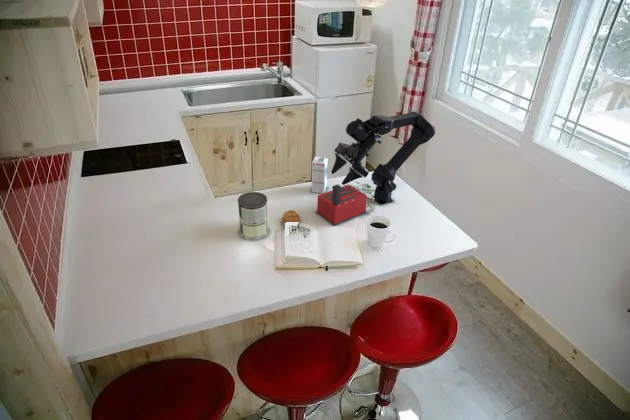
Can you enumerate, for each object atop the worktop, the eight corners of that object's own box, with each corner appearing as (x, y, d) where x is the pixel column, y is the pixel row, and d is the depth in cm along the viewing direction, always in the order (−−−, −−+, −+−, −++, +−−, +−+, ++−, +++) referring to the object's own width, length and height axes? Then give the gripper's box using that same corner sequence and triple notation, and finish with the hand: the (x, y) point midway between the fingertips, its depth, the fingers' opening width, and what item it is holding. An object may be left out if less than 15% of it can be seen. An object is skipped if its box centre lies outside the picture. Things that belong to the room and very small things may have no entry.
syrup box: (324, 193, 187) (325, 163, 180) (310, 192, 188) (311, 161, 180) (326, 187, 192) (328, 157, 184) (313, 185, 193) (314, 155, 185)
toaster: (347, 200, 183) (349, 183, 179) (366, 213, 176) (368, 195, 171) (316, 212, 175) (317, 195, 170) (334, 225, 167) (335, 207, 163)
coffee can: (234, 231, 162) (231, 198, 154) (256, 220, 168) (255, 188, 161) (251, 243, 156) (249, 210, 148) (273, 232, 162) (273, 199, 155)
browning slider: (336, 200, 167) (337, 184, 163) (340, 203, 165) (342, 187, 161) (331, 202, 166) (332, 186, 162) (335, 205, 164) (336, 189, 160)
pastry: (301, 230, 163) (301, 222, 161) (283, 231, 163) (283, 223, 161) (299, 217, 171) (299, 208, 169) (281, 218, 171) (281, 209, 168)
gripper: (338, 126, 167) (313, 158, 170) (361, 145, 153) (333, 180, 156) (356, 140, 174) (332, 171, 177) (380, 160, 160) (353, 193, 162)
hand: (337, 178), depth 168 cm, fingers open, 9 cm apart
